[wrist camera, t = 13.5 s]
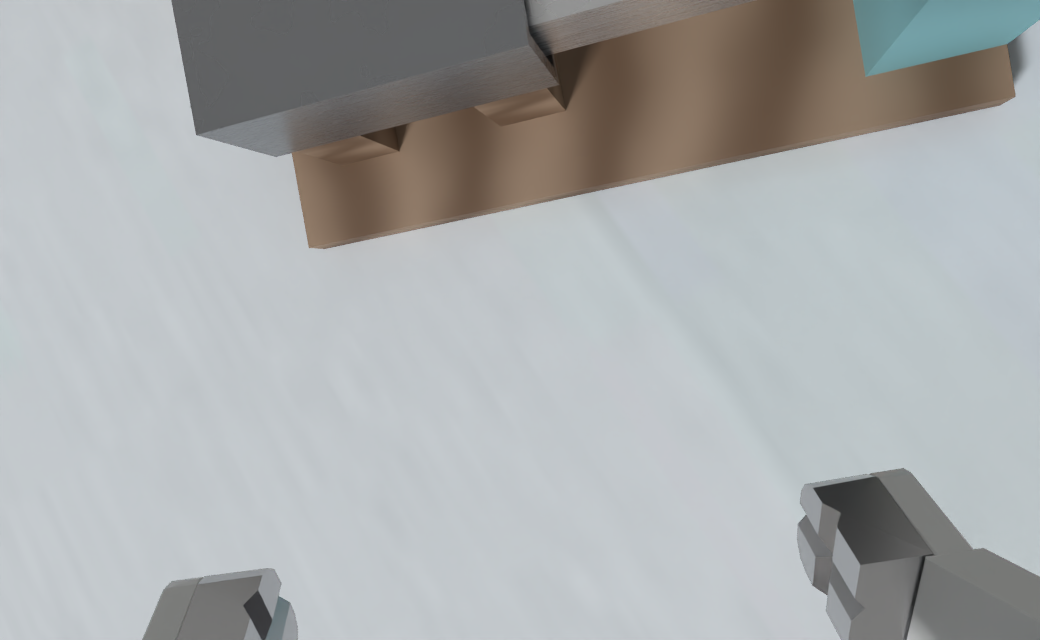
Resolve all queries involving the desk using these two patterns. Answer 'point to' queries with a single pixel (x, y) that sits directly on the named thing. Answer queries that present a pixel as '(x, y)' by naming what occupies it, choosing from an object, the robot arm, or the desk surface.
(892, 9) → the socket block
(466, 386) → the desk surface
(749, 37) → the base board
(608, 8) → the dark grey upright post
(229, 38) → the outer sleeve
